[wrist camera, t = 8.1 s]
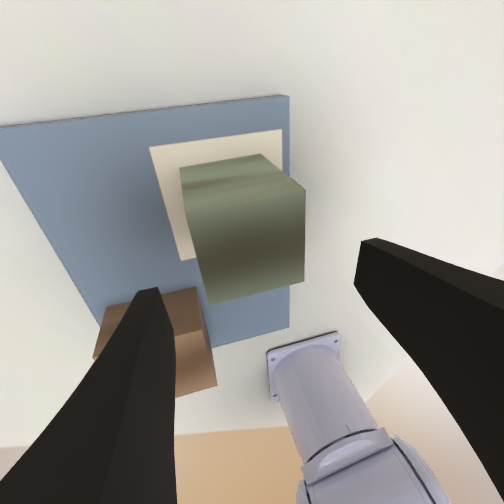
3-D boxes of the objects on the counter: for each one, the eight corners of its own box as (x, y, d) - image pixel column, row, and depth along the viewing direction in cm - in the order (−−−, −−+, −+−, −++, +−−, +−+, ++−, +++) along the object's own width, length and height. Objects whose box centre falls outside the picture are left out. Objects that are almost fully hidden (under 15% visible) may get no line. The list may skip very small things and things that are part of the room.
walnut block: (210, 340, 22) (217, 385, 19) (135, 360, 21) (129, 411, 18) (196, 286, 19) (201, 329, 16) (106, 306, 18) (92, 357, 15)
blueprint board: (284, 317, 25) (290, 328, 24) (128, 358, 23) (126, 373, 21) (281, 95, 15) (290, 96, 14) (-3, 126, 12) (-20, 131, 11)
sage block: (266, 224, 17) (304, 281, 12) (197, 239, 17) (209, 305, 12) (260, 153, 15) (305, 189, 10) (179, 167, 14) (185, 214, 9)
